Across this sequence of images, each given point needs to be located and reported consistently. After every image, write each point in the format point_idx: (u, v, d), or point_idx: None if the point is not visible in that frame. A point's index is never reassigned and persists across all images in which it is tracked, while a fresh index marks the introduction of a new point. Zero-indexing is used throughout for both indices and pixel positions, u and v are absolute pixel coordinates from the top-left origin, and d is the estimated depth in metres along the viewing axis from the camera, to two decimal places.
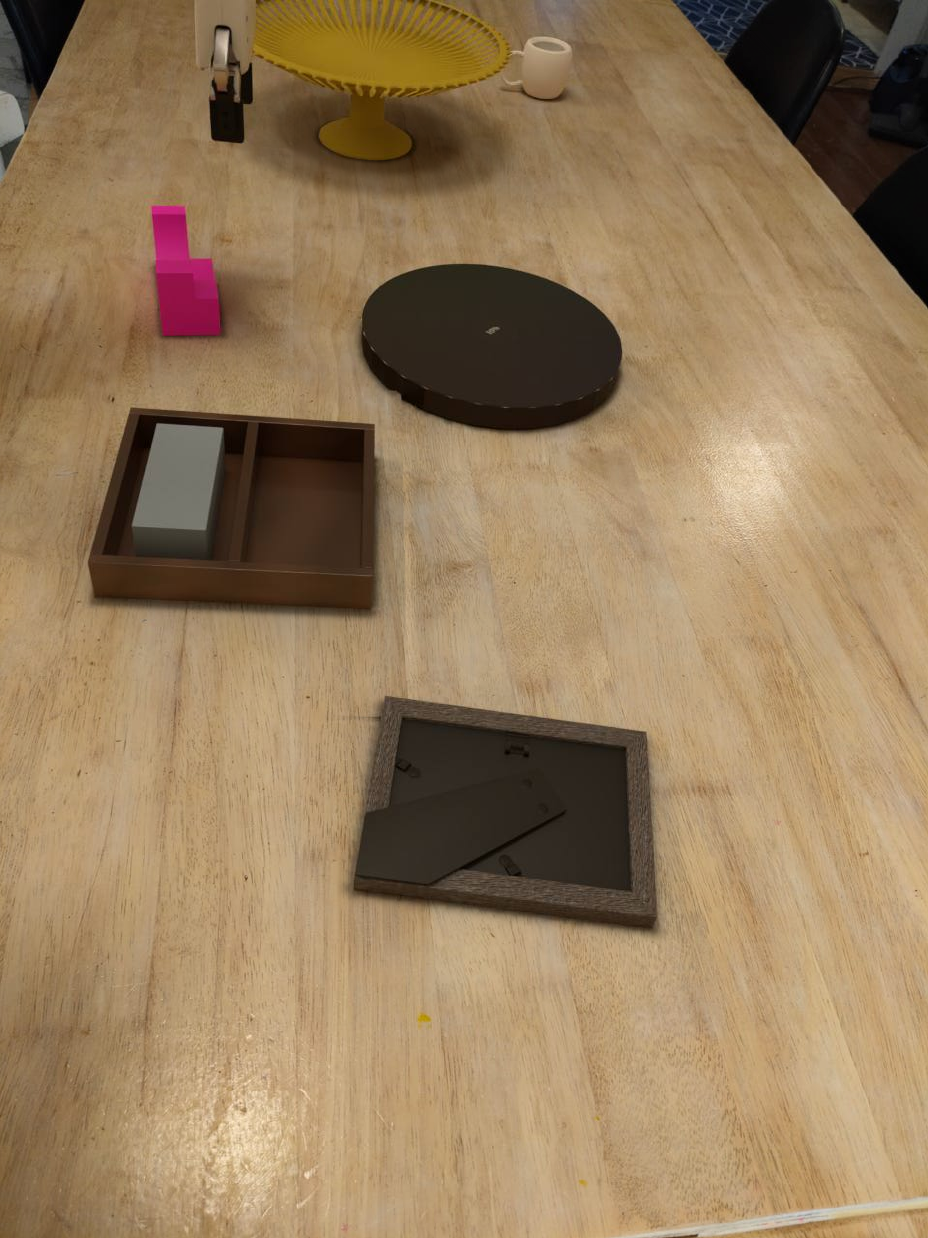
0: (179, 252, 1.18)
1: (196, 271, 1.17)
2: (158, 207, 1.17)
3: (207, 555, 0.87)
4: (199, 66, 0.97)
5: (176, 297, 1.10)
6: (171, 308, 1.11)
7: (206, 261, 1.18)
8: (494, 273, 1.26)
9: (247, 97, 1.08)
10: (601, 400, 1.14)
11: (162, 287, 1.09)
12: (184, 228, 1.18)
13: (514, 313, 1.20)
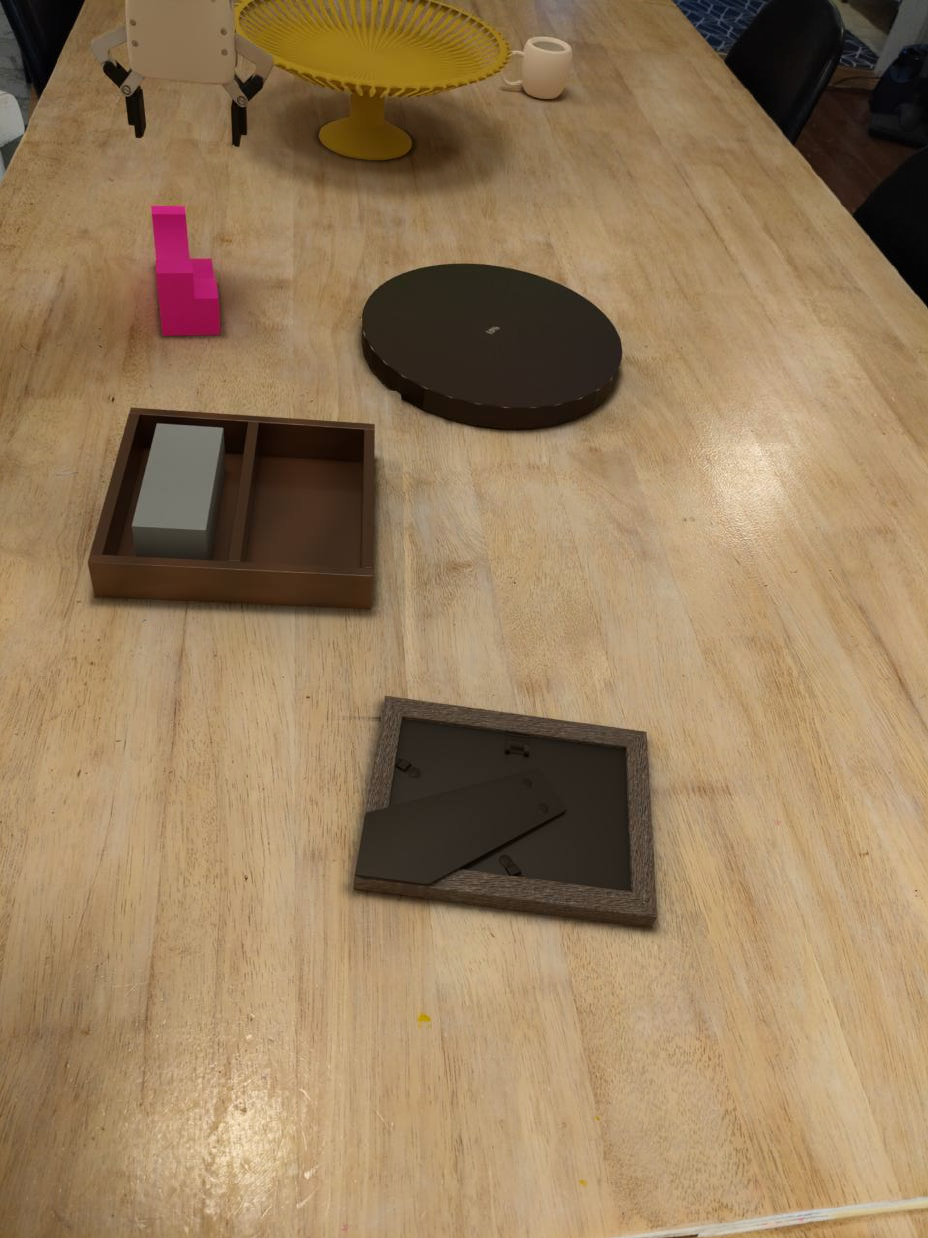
0: (179, 252, 1.18)
1: (196, 271, 1.17)
2: (158, 207, 1.17)
3: (207, 555, 0.87)
4: None
5: (176, 297, 1.10)
6: (171, 308, 1.11)
7: (206, 261, 1.18)
8: (494, 273, 1.26)
9: (232, 138, 1.05)
10: (601, 400, 1.14)
11: (162, 287, 1.09)
12: (184, 228, 1.18)
13: (514, 313, 1.20)
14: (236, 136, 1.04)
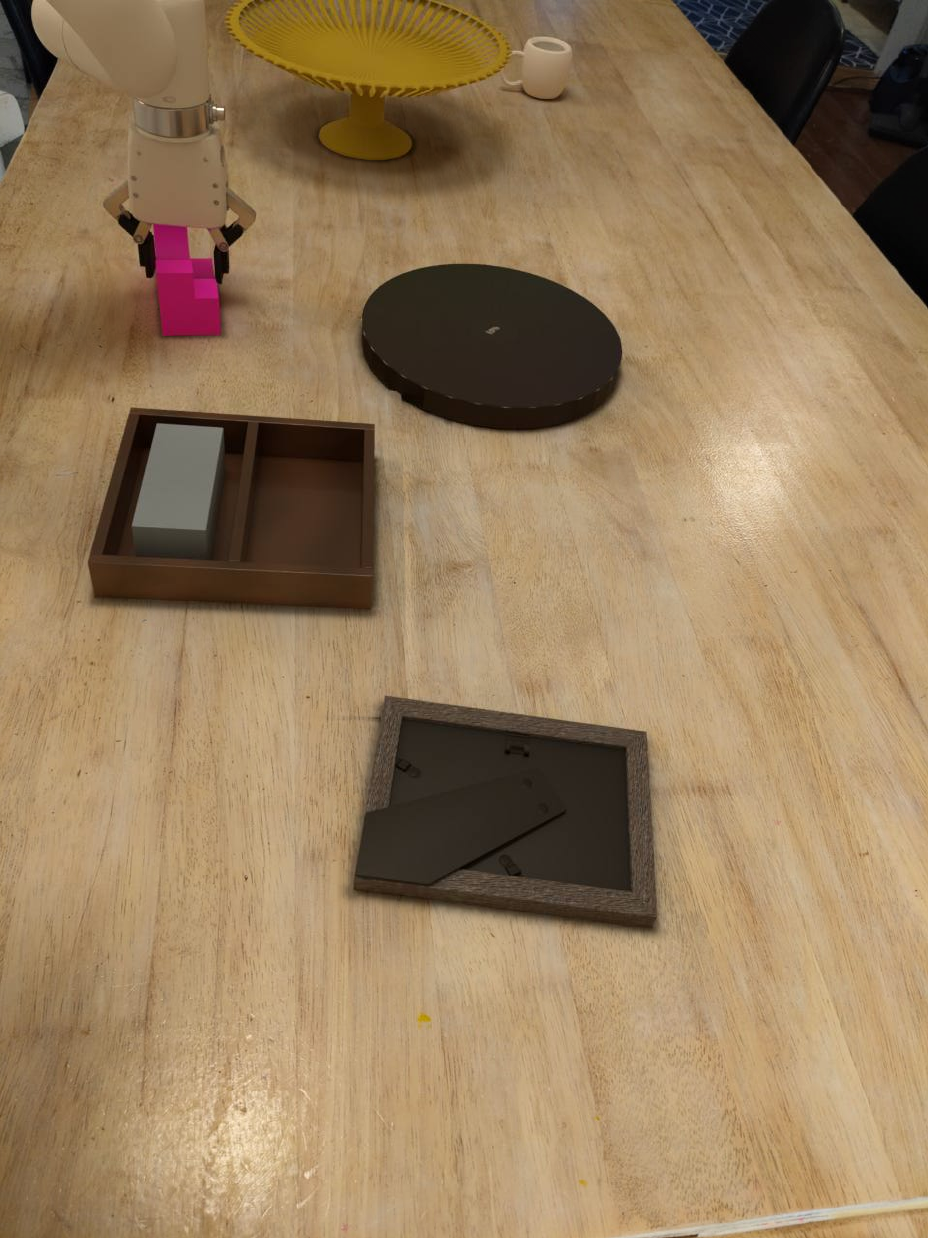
0: (179, 252, 1.18)
1: (196, 271, 1.17)
2: None
3: (207, 555, 0.87)
4: None
5: (177, 297, 1.10)
6: (171, 308, 1.11)
7: (206, 261, 1.18)
8: (494, 273, 1.26)
9: (215, 277, 1.16)
10: (601, 400, 1.14)
11: (162, 287, 1.09)
12: (184, 228, 1.18)
13: (514, 313, 1.20)
14: (218, 275, 1.15)
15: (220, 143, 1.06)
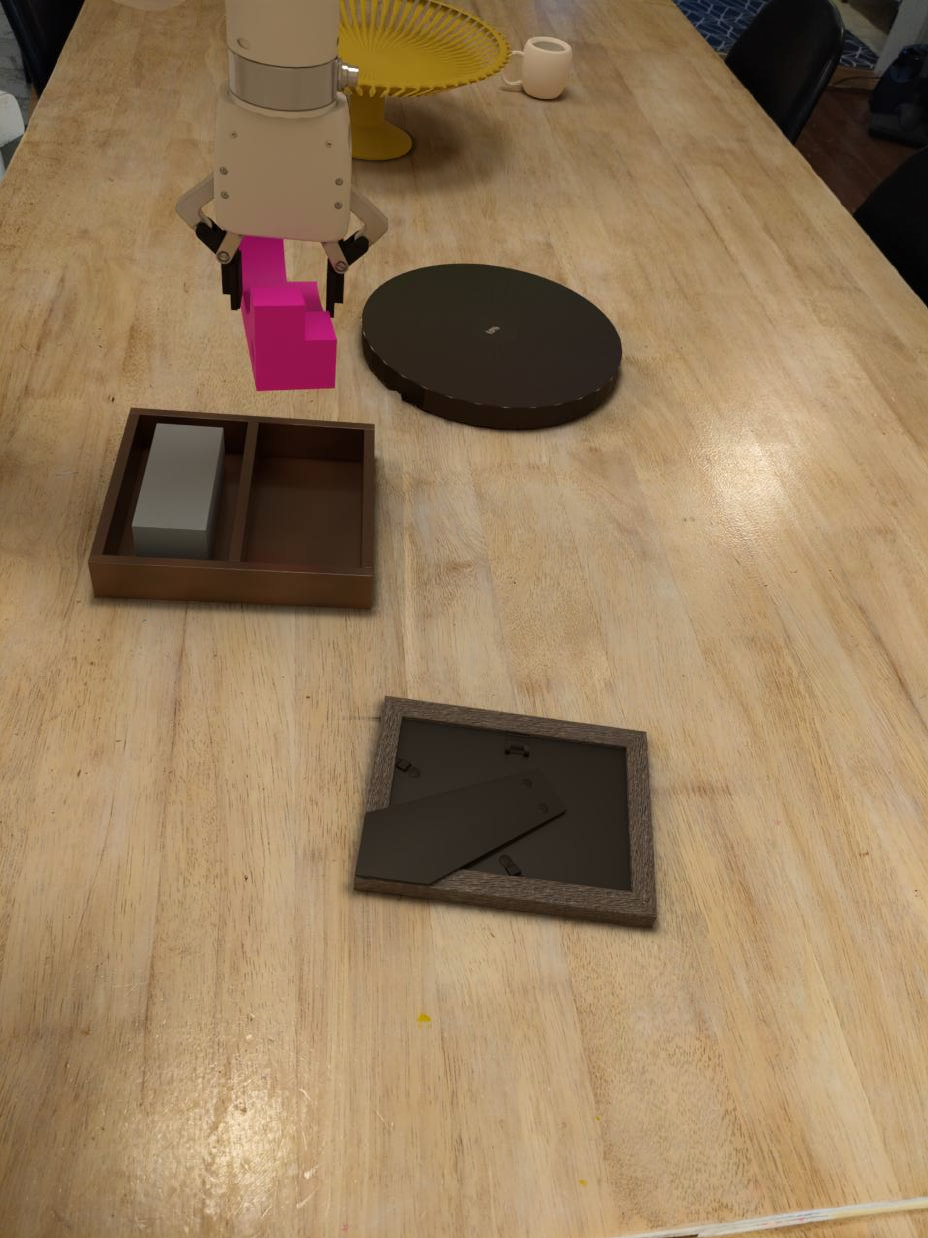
0: (273, 274, 0.86)
1: None
2: None
3: (207, 555, 0.87)
4: None
5: (280, 339, 0.78)
6: (271, 354, 0.79)
7: (309, 285, 0.86)
8: (494, 273, 1.26)
9: None
10: (601, 400, 1.14)
11: (261, 326, 0.77)
12: (279, 240, 0.85)
13: (514, 313, 1.20)
14: (331, 307, 0.83)
15: (348, 120, 0.74)
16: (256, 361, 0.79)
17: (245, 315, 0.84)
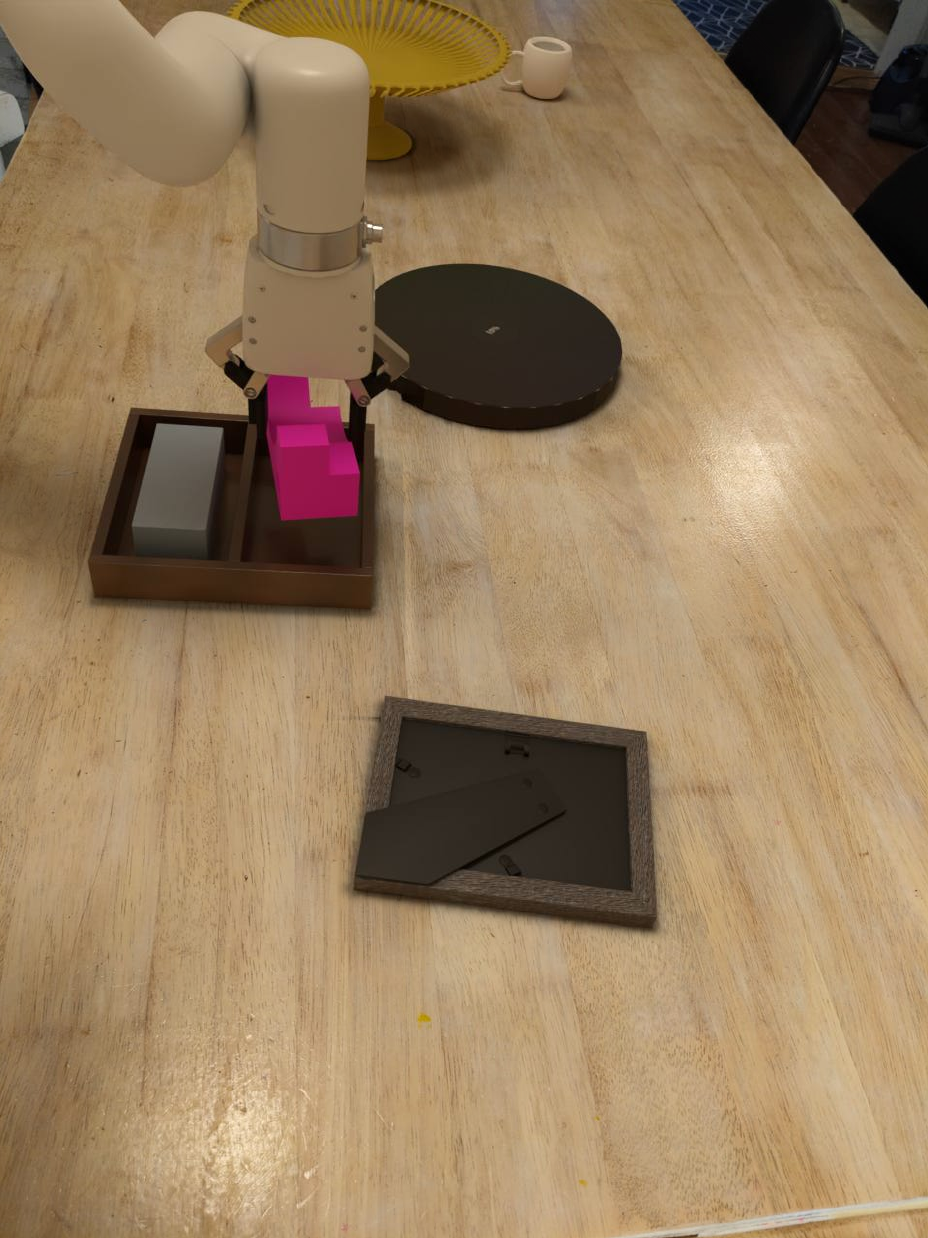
0: (297, 400, 0.88)
1: None
2: None
3: (207, 555, 0.87)
4: None
5: (304, 475, 0.81)
6: (296, 488, 0.82)
7: (332, 411, 0.89)
8: (494, 273, 1.26)
9: (348, 436, 0.86)
10: (601, 400, 1.14)
11: (287, 464, 0.80)
12: None
13: (514, 313, 1.20)
14: (354, 436, 0.86)
15: (372, 272, 0.76)
16: (281, 494, 0.82)
17: (270, 442, 0.87)
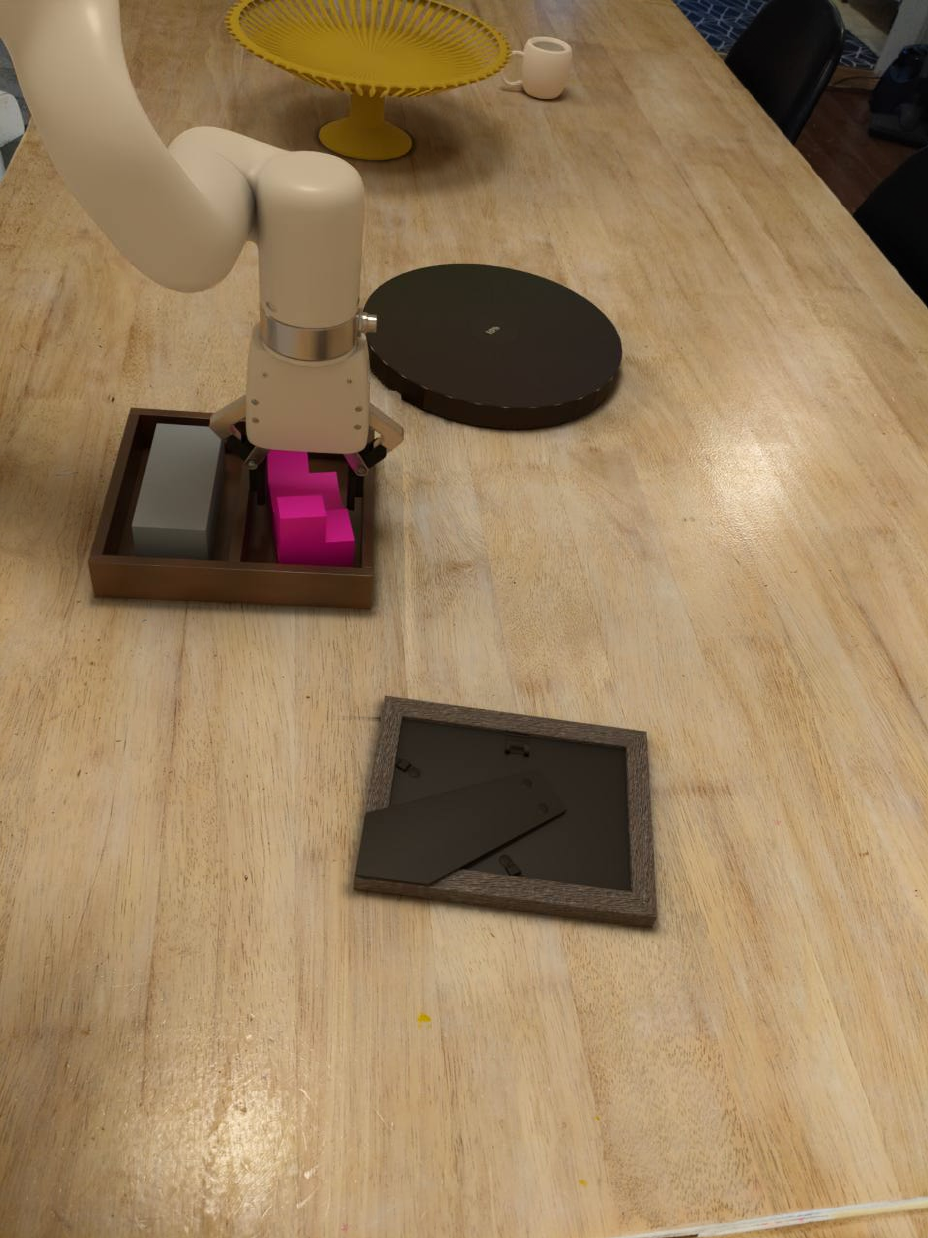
0: (296, 466, 0.94)
1: (318, 491, 0.93)
2: None
3: (207, 555, 0.87)
4: None
5: (303, 543, 0.86)
6: (295, 554, 0.87)
7: (329, 476, 0.94)
8: (494, 273, 1.26)
9: None
10: (601, 400, 1.14)
11: (286, 533, 0.85)
12: None
13: (514, 313, 1.20)
14: (352, 502, 0.91)
15: (367, 357, 0.82)
16: (281, 560, 0.87)
17: (271, 507, 0.92)
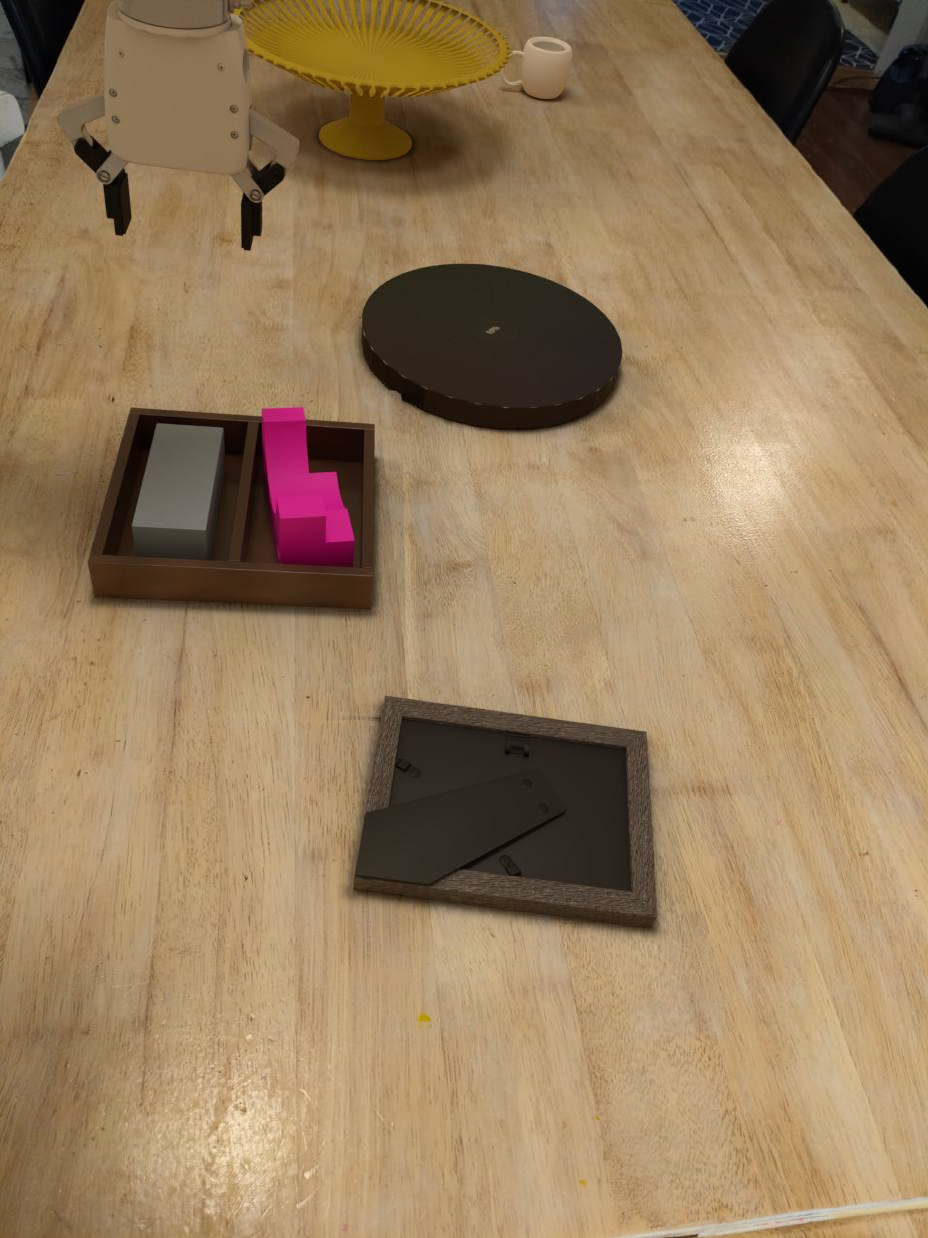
0: (296, 466, 0.94)
1: (318, 491, 0.93)
2: (271, 411, 0.93)
3: (207, 555, 0.87)
4: None
5: (303, 543, 0.86)
6: (295, 554, 0.87)
7: (329, 476, 0.94)
8: (494, 273, 1.26)
9: (241, 240, 0.81)
10: (601, 400, 1.14)
11: (286, 533, 0.85)
12: (302, 436, 0.94)
13: (514, 313, 1.20)
14: (246, 238, 0.80)
15: (243, 45, 0.71)
16: (281, 560, 0.87)
17: (271, 507, 0.92)
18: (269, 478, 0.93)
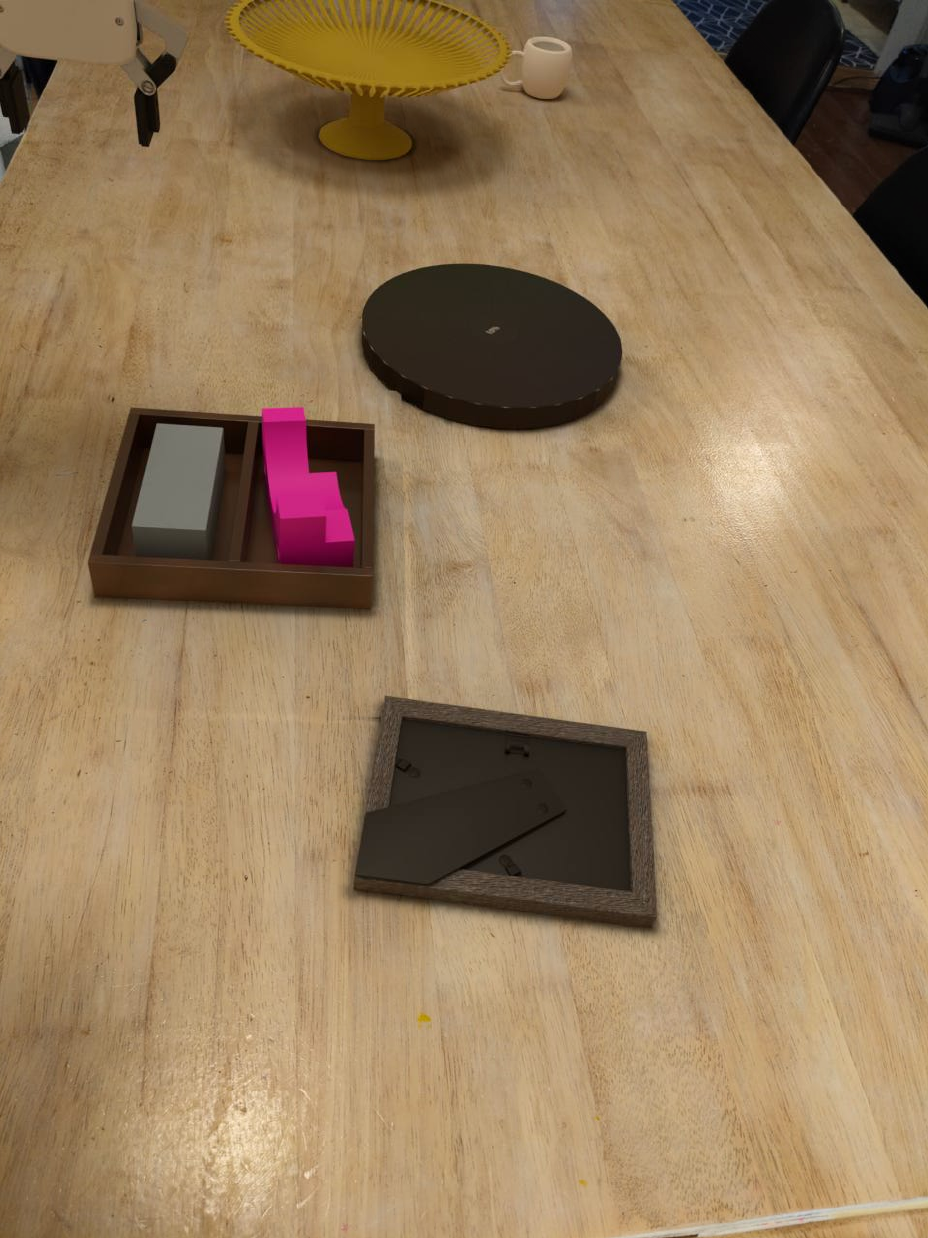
0: (296, 466, 0.94)
1: (318, 491, 0.93)
2: (271, 411, 0.93)
3: (207, 555, 0.87)
4: None
5: (303, 543, 0.86)
6: (295, 554, 0.87)
7: (329, 476, 0.94)
8: (494, 273, 1.26)
9: (138, 136, 0.81)
10: (601, 400, 1.14)
11: (286, 533, 0.85)
12: (302, 436, 0.94)
13: (514, 313, 1.20)
14: (143, 133, 0.80)
15: None
16: (281, 560, 0.87)
17: (271, 507, 0.92)
18: (269, 478, 0.93)
